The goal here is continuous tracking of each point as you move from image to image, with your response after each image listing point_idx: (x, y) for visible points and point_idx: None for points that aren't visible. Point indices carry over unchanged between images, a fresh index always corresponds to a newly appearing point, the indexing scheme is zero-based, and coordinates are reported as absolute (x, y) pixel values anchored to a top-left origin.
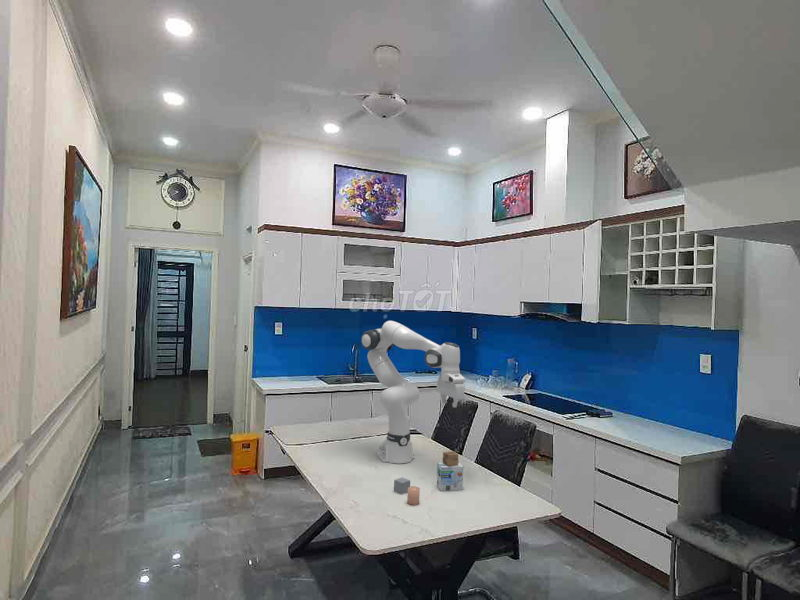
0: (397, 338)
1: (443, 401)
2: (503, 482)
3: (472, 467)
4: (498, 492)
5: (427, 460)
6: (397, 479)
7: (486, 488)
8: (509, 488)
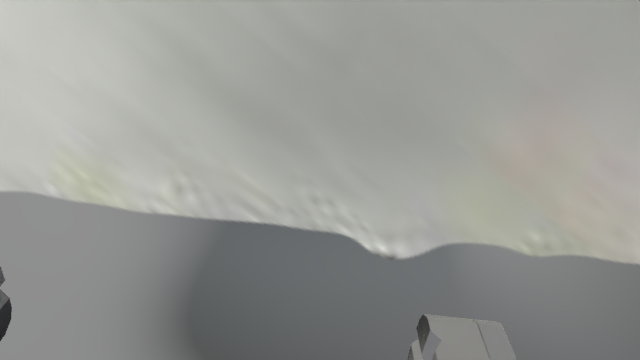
0: None
1: (442, 344)
2: (115, 193)
3: (340, 205)
4: (4, 90)
5: (570, 74)
6: None
7: (66, 74)
8: (40, 166)
